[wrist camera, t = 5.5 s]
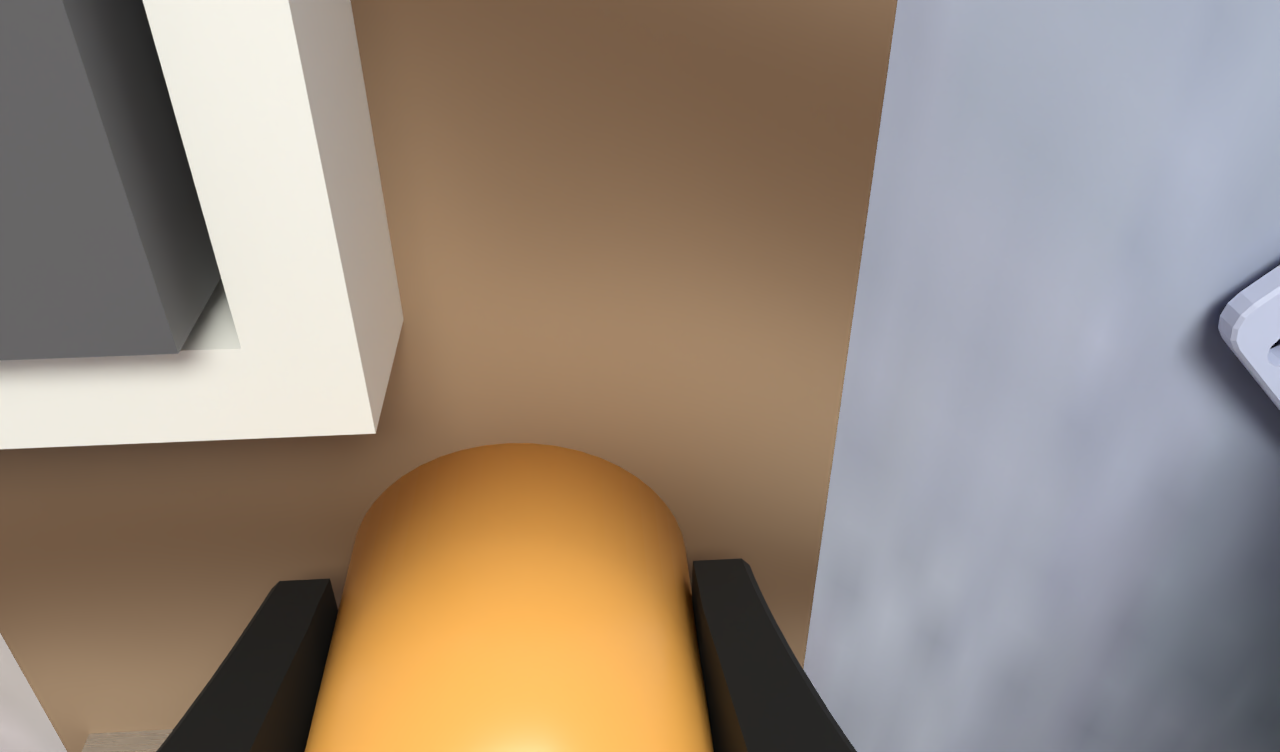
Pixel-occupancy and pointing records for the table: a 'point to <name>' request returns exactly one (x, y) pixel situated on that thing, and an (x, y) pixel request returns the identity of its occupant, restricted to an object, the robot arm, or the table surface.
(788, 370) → the tan flat plate
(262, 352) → the frame
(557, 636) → the cap
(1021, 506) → the table surface
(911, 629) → the table surface
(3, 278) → the button
